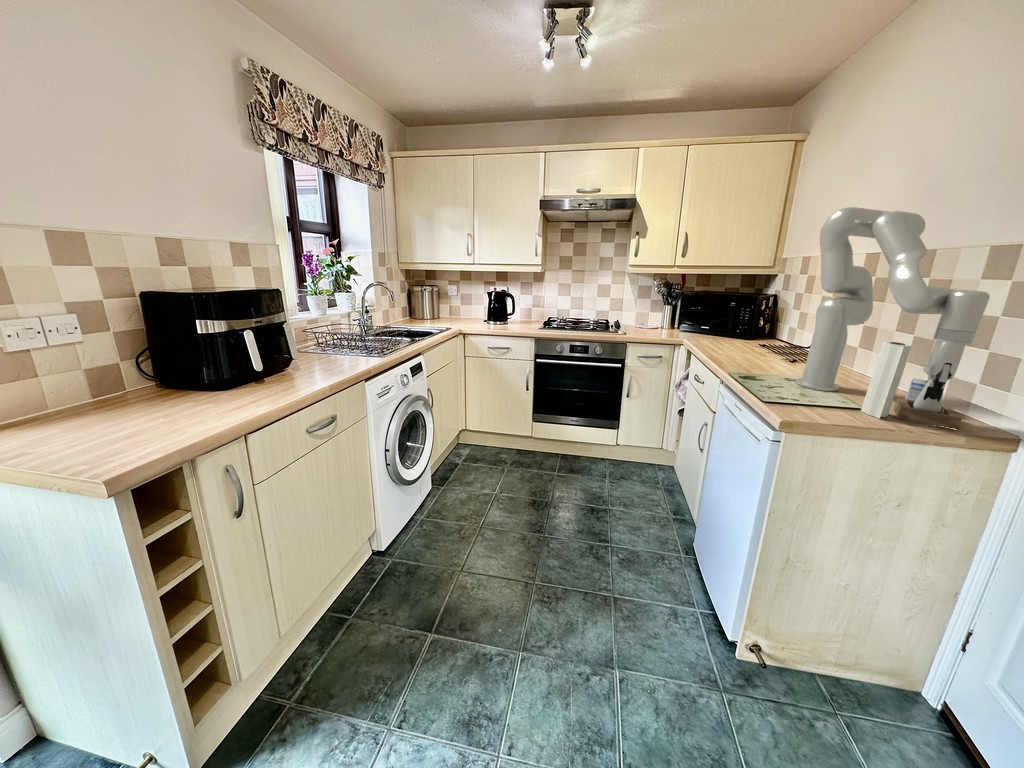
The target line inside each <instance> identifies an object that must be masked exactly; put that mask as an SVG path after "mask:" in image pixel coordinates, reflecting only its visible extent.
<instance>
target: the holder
mask: <svg viewBox="0 0 1024 768" xmlns="http://www.w3.org/2000/svg"><path fill="white" fill-rule="evenodd" d="M914 402H915V401H911V400H906V399H905V398H904V399H903V398H900V397H897V398H896V400H895V403H894V406H893V411H894V412H895V413H894V414H895V415H896V417H897V419H898V420H899V421H900V420H901V421H904V422H905V421H906V422H910V421H912V422H911V423H915V422H916V423H917V424H920V423H923V424H922V425H925V424H929V425H928V426H930V425H936V426H944V427H949V428H955V429H958V430H959V427H960V425H961V423H962V420H963V418H962V417H961V416H960V415H959V414H958V413H957V412H956V410H955V409H954V408H953V407H950V406H945V405H942V409H941V411H940V412H939V413H936V412H931V411H925V410H920V409H915V408H914V407H913V404H914Z"/></svg>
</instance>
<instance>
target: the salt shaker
mask: <svg viewBox="0 0 1024 768" xmlns="http://www.w3.org/2000/svg"><path fill="white" fill-rule="evenodd" d="M949 375H950V374H949ZM936 377H940V375H936ZM928 378H930V379H929V380H928ZM932 378H933V375H932V376H928V375H927V380H928V382H927V383H926V385H925V387H924V388H923V390H922V391H921V393H920V394H919V396H918V397H917V399H916V400H915V402H914V404H913V407H914V408H915V409H920V410H925V411H931V412H936V413H939V412H940V411H941V409H942V406H943V398H944V397H943V396H944V392H943V393H942V396H941V398H940V401H939V402H938V403H937V399H935V400H933V399H930V398H929V397H928V398H927V399H926V400H924V399H923V398H924V395H925V393H926V390H927V387H930V383H931V381H932ZM936 380H939V379H936ZM949 380H950V379H947V382H948V381H949Z"/></svg>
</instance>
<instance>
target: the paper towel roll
mask: <svg viewBox="0 0 1024 768" xmlns="http://www.w3.org/2000/svg"><path fill="white" fill-rule="evenodd" d="M911 350H912V345H911V344H908V343H903V342H895V341H883V342H882V345H881V348H880V350H879V353H878V356H877V360H876V363H875V366H874V369H873V372H872V376H871V378H870V381H869V385H868V388H867V390H866V394H865V396H864V399H863V403H862V406H861V409H860V410H861V411H860V412H861V413H863V414H866V415H868V416H871V417H875V419H879V420H880V419H881V418H886V417H888V415H889V412H890V410H891V406H892V405H893V401H894V399H895V396H896V393H897V390H898V386H899V384H900V381H901V379H902V375H903V372H904V370H905V367H906V364H907V362H908V358H909V355H910V351H911Z"/></svg>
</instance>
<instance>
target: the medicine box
mask: <svg viewBox="0 0 1024 768" xmlns="http://www.w3.org/2000/svg"><path fill="white" fill-rule="evenodd" d="M926 383H927V380H925V379H919V378H912V380H911V382H910V383H909V384H910V385H909V387H908V390H907V393H906V395H905V398H904V399H906V400H911V401H915V400H916V399H917V397H918V396H919V394H920V393H921V391H922V390H923V388H924V387H925V384H926Z"/></svg>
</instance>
